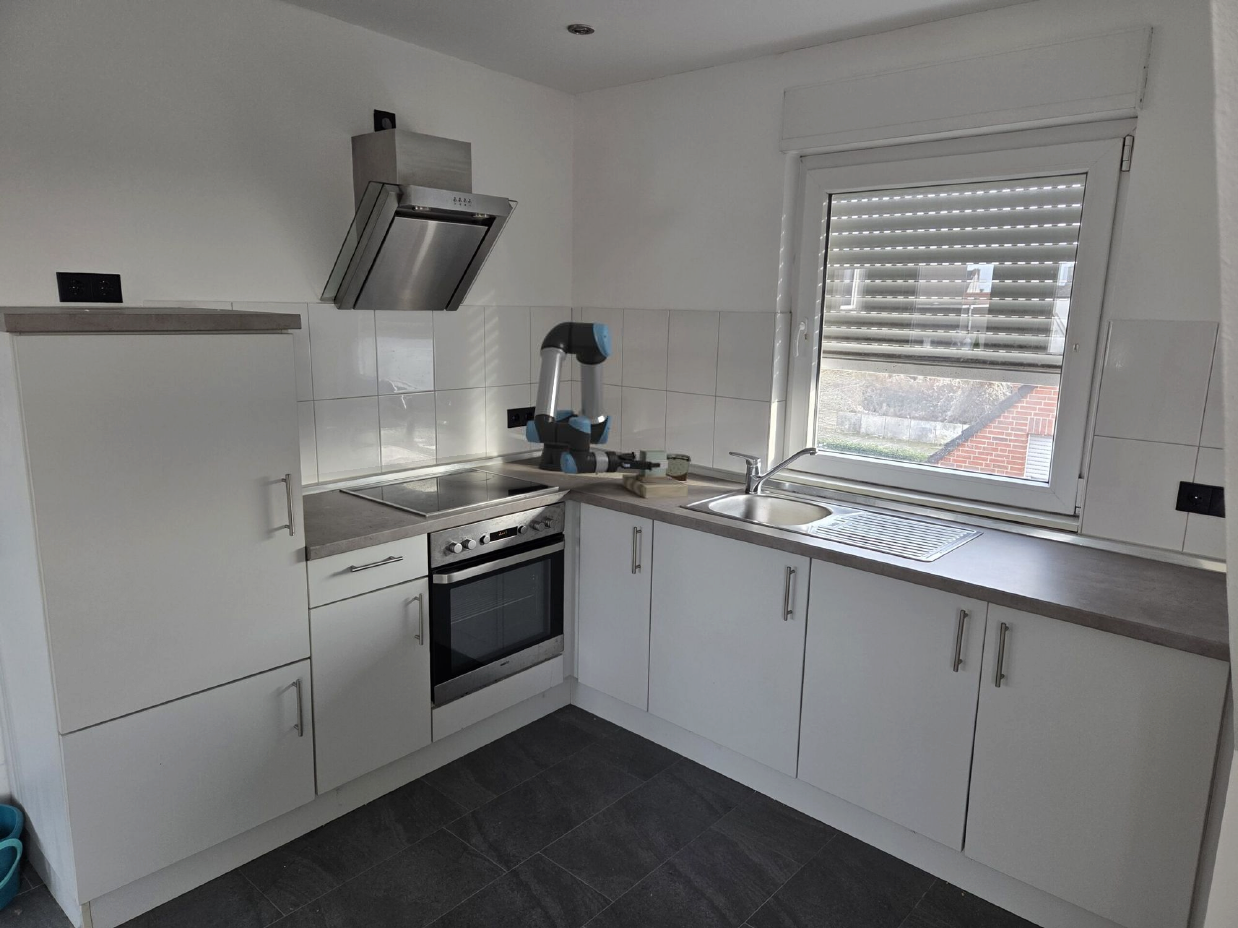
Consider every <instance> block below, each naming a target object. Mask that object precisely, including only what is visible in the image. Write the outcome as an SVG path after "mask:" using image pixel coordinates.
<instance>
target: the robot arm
mask: <svg viewBox="0 0 1238 928" xmlns="http://www.w3.org/2000/svg"><path fill="white" fill-rule="evenodd" d="M611 337H612V336H611V331H610V328H609V326H608V325H607V324H605V323H599V322H579V321H576V322H575V321H574V322H573V321H564V322H560V323H558V324H557V325H555V326H553V327H552V328H551V329H550V330H549V332H547V334H546V335H545V337H544V339H543V340H542V343H541V346H540V351H539V356H540V358H541V363H540V371H539V381H538V386H537V392H536V393H537V394H536V400H535V401H536V402H535V410H534V416H533V417H534V418H533V420H529V421H527V423H526V426H525V427H526V428H525V438H526V441H527V442H529V443H534V444H540V445H541V444H543V449H542V450H541V451H542V452H541V455H540V457H539V460H538V469H541V470H545V471H551V472H552V471H553V472H563V473H564V474H566V475H567V474H569V475H571V474H572V475H583V474H585V475H586V474H595V476H597V475H598V474H604V473H605V474H613V473H616V472H617V471H618V468H621V469H624V470H639V469H641V470H649V471H651V470H652V469H660V468H668V461H667V460H663V461H650V462H649V461H639V457H640V453H635V451H631V452H626V453H620V454H617V453H616V452H615V451H591V447H590V446H591V445H596V446H597V445H605V444H607V443H608V439H609V435H610V434H609V433H610V428H611V420H612V416H610V415H608V412H607V410H606V409H605V408H604V362H606V360H607V359H608V357H610V356H611V353H612V338H611ZM568 355H575V359H576V361H577V362H578V363H579V366H580V367H579V371H580V373H579V374H580V398H581V399H580V401H581V408H580V409H579V411H578V413H575V411H574V410H573V409H560V410H559V409H558V404H559V395H560V388H561V381H562V373H563V364H564V361H565V360H566V359H567V356H568Z"/></svg>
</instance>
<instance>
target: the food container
mask: <svg viewBox="0 0 1238 928" xmlns="http://www.w3.org/2000/svg"><path fill="white" fill-rule="evenodd" d="M667 461H668V468H666V475H667V476H669V477H671V478H673V479H675V480H677V481H686V482H687V480H688V474H689V467H690V463H692V458H691V456H690V455H687V454H683V453H667Z"/></svg>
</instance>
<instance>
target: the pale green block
mask: <svg viewBox="0 0 1238 928" xmlns="http://www.w3.org/2000/svg"><path fill="white" fill-rule="evenodd" d="M639 454H640V457H639V461H649V462H650V461H663V460H667V454H668V452H667V451H666V450H663V449H661V448H657V449H656V448H654V449H653V448H652V449H649V448H648V449H639ZM635 474H636V479H638V480H640V481H642V482H646V481H668V476H666V468H660V469H652V470H651V471H649V470H641V469H638V473H635Z"/></svg>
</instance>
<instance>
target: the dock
mask: <svg viewBox="0 0 1238 928" xmlns="http://www.w3.org/2000/svg"><path fill="white" fill-rule="evenodd" d="M636 474H637V473H625V474H622V477H621V478H622V480H621V485H622V486H623V487H625V488H627V489H628V490H630V491H632V492H633V493H635V494H637V495H639V496H641V497H642V498H644V499H664V498H665V499H666V498H684V497H687V498H688V491H689V490H688V489H689V485H688V484H686V483H685V482H679V481H677V480H675V479H673V478H671V477H669V476H668V481H646V482H642V481H640V480H638V479H636ZM666 476H667V475H666Z"/></svg>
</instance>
